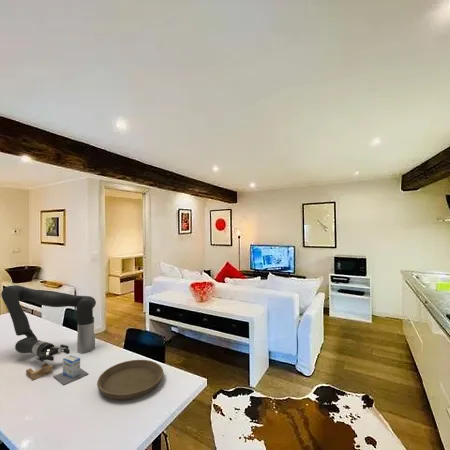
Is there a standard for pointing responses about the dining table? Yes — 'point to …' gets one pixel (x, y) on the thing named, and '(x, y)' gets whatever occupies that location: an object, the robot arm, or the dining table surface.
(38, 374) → the bracket
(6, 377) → the dining table surface
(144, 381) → the plant saucer
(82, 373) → the mat
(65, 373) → the medicine box
